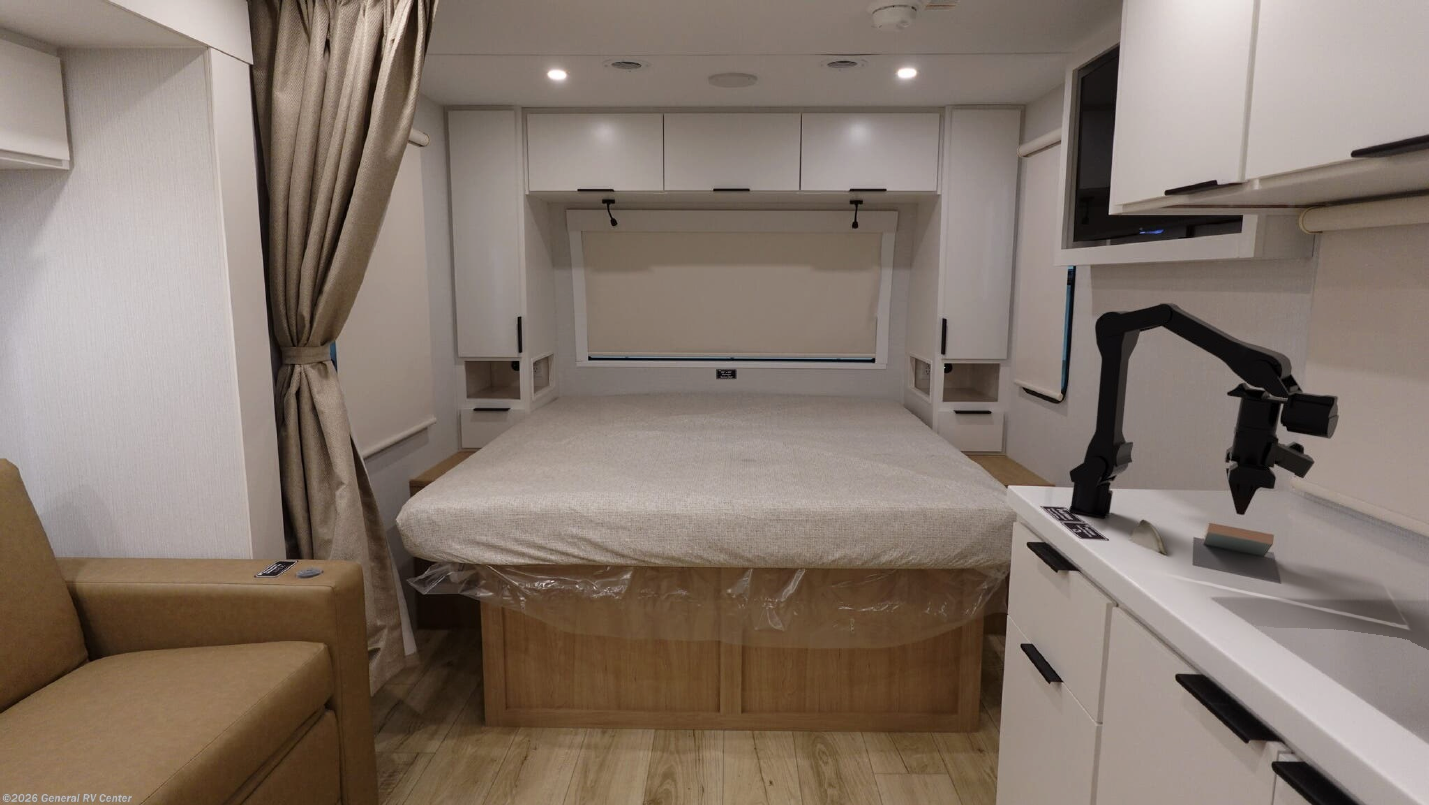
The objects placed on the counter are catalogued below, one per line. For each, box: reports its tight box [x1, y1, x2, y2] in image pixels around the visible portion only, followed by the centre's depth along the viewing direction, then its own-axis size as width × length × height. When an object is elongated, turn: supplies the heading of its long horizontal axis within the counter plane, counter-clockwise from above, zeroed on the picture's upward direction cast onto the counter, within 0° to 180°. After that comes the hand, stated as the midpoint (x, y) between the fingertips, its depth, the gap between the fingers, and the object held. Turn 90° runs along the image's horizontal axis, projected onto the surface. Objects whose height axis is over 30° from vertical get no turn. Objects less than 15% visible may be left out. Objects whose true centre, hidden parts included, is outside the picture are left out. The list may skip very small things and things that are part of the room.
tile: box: [1203, 522, 1275, 556], centre depth 134 cm, size 9×2×9 cm
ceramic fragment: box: [1128, 519, 1167, 557], centre depth 140 cm, size 14×5×4 cm, turn 167°
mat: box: [1192, 536, 1282, 585], centre depth 133 cm, size 12×16×1 cm
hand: (1240, 514), depth 136 cm, fingers closed
